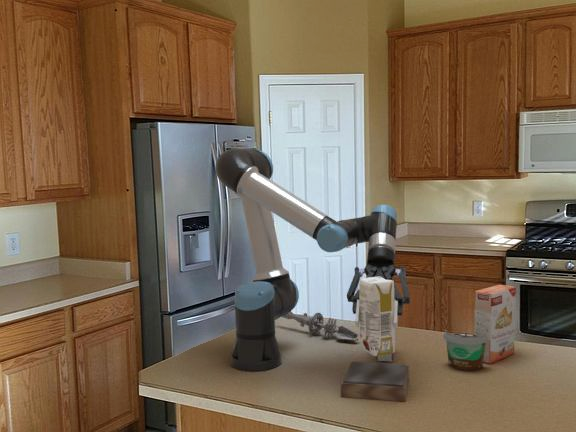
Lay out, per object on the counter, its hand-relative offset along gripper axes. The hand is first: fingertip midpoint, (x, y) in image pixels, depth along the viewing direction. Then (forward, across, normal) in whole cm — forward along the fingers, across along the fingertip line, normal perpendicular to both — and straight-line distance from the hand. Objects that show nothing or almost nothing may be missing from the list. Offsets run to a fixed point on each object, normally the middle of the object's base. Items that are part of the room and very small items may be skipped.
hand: (376, 324), depth 155 cm
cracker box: (-11, -31, -37) cm, 50 cm away
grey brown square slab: (+10, +1, -15) cm, 18 cm away
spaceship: (-21, +26, -46) cm, 57 cm away
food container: (-3, -22, -29) cm, 36 cm away
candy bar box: (-8, +1, -33) cm, 34 cm away
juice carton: (+4, 0, -8) cm, 8 cm away
